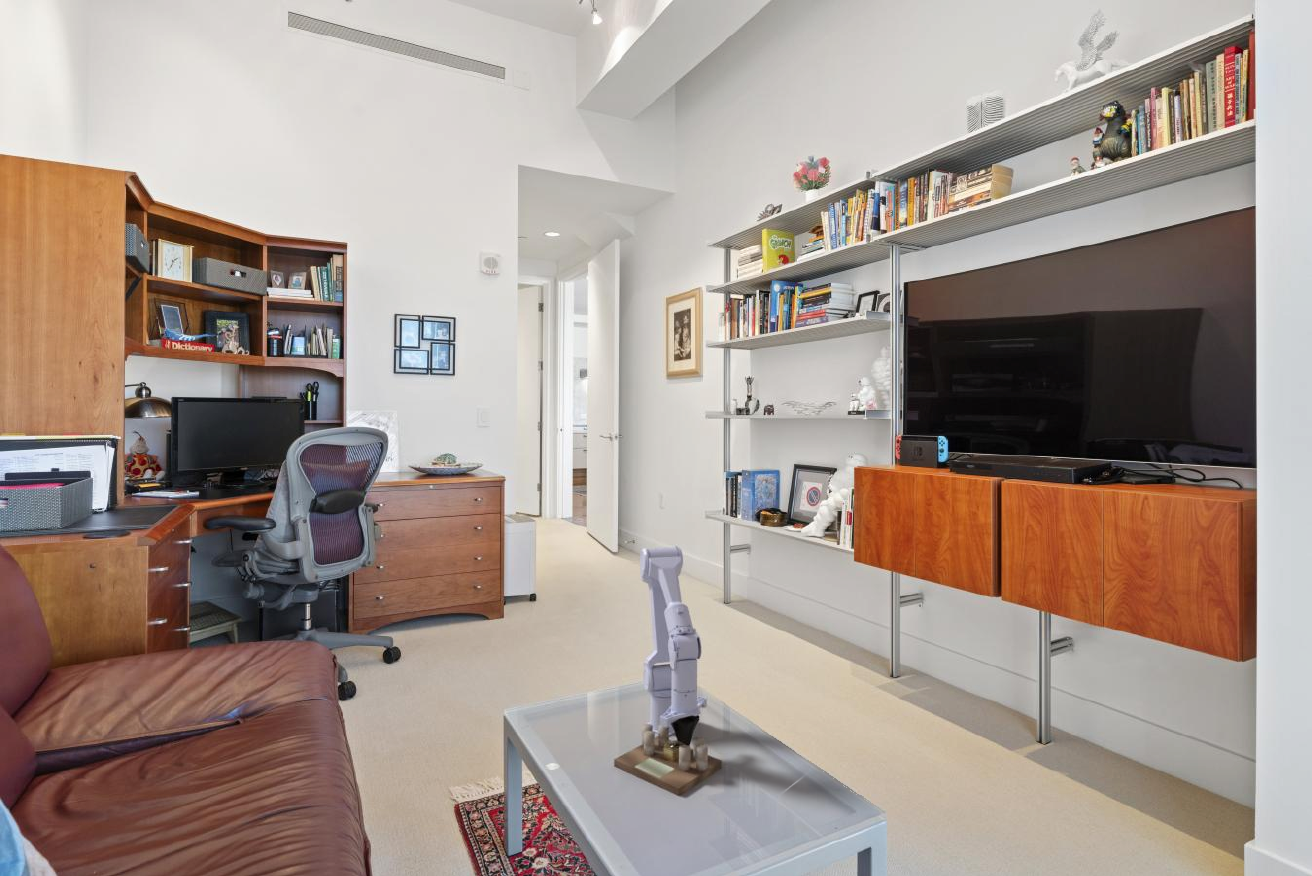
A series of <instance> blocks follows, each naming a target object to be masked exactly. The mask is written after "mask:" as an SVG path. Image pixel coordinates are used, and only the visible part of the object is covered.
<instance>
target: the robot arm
mask: <svg viewBox="0 0 1312 876" xmlns="http://www.w3.org/2000/svg"><path fill="white" fill-rule="evenodd" d="M683 565H684V555H683V552H682V549H681V548H680V547H679V546H669V547H667V546H665V547H643V548H642V550H640V556H639V567H640V568H639V569H640V577H641V581H642V582H644V583H646V584H647V585H648V591H649V598H650V599H649V600H650V602H649V603H650V612H651V623H652V624H651V626H652V627H651V628H652V629H651V630H652V640H653V651H652V653H650V654H649V655H648V656H647V657H646V658H645V659H644V662H643V673H642V674H643V685H644V689H645V691H647V693H650V694H649V697H650V699H649V700H650V702H649V713H650V714H649V722H647V723H646V724H651V725H653V732H654V733H655V734H658V726H659V725H661V726H664V727H669V737H670V736H672V735H674V734H675V737H676V740H677V741H679V742H682V743H684V744H685V745H688V746H690V747H691V741H692V738H693V734H694V732H695V729H696V727H697V725H698V723H699V722H700V715H701V710H700V709H701V708H703V709H704V708H706V707H707V706H708V704H707V703H708V699H707V698H706V697H704V696H700V695H699V696H698V660H700V659H701V656H702V642H701V637H700V635H699V633H698V632H697V630H696V628H694V626H693V623H692V618H691V615H690V610H689V607H688V606H687V605H686V604H685V603H683V602H682V595H681V594H682V593H681V588H680V581H679V576H680V575H681V571H682V569H683ZM660 663H661V664H660ZM663 663H665V664H663ZM656 664H657V665H656Z"/></svg>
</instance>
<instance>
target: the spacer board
mask: <svg viewBox="0 0 1312 876" xmlns="http://www.w3.org/2000/svg"><path fill="white" fill-rule="evenodd" d="M641 732H642V733H641V735H642V736H641V744H640V745H638V746H637V747H635V748H633V749H631V750H628V751H627V752H626V753H624V754H621V755H619V756H618V757H615V759H613V761H614V762H613V764H614V765H613V766H614V767H615V768H617V769H620V770H621V771H624V772H626V773H628V774H630V775H632V776H635V777H638V778H639V779H642V780H643V781H646V782H648V783H650V784H652V785H654V786H656V787H659V788H661V789H662V790H665V791H667V792H670V793H672V794H674V795H676V796H680V795H682V794H683V793H685V792H687V791H689V789H691V788H693V787H694V786H696V785H697V784H699V783H701V782H703V780H705V779H706V778H708V777H710V776H711V775H712V774H714V773H715V772H718V770H720V769H722V768H723V765H722V764H723V763H722V761H723V760H722V759H719V758H716V757H714V756H712V755H709V754H708V751H709V749H708V746H707V745H705V738H704V737H702V736H696V737H694V738H693V743H692V744H693V748H691V745H690V746H688V745H681V746H680V747H679V761H675V762H672V761H669V760H667V759H664V745H665V742H669V741H672V740H671V739H670V736H669V727H664V726H661V725H659V726H658V735H657V736H656V735H655V734H656V733H655V732H653V725H651V724H647V723H644V724H642V726H641Z"/></svg>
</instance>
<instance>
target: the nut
mask: <svg viewBox="0 0 1312 876" xmlns="http://www.w3.org/2000/svg"><path fill="white" fill-rule="evenodd" d="M681 745H685V744H684V743H682V742H679V741H677V739H676V740H671V741H669V742H665V745H664V759H667V760H669V761H672V762H675V761H679V747H680V746H681Z"/></svg>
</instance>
